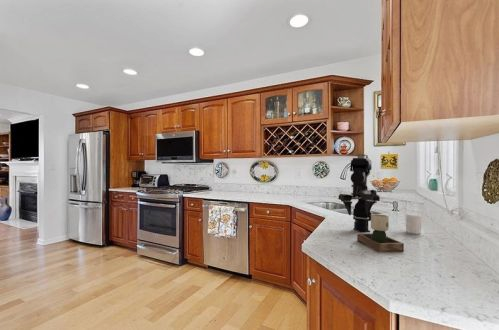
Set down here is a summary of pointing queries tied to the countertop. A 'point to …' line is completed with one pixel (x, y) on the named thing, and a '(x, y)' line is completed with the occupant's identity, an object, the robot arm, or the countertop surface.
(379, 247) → the box
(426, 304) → the countertop surface
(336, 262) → the countertop surface
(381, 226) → the character mug
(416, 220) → the white cup
